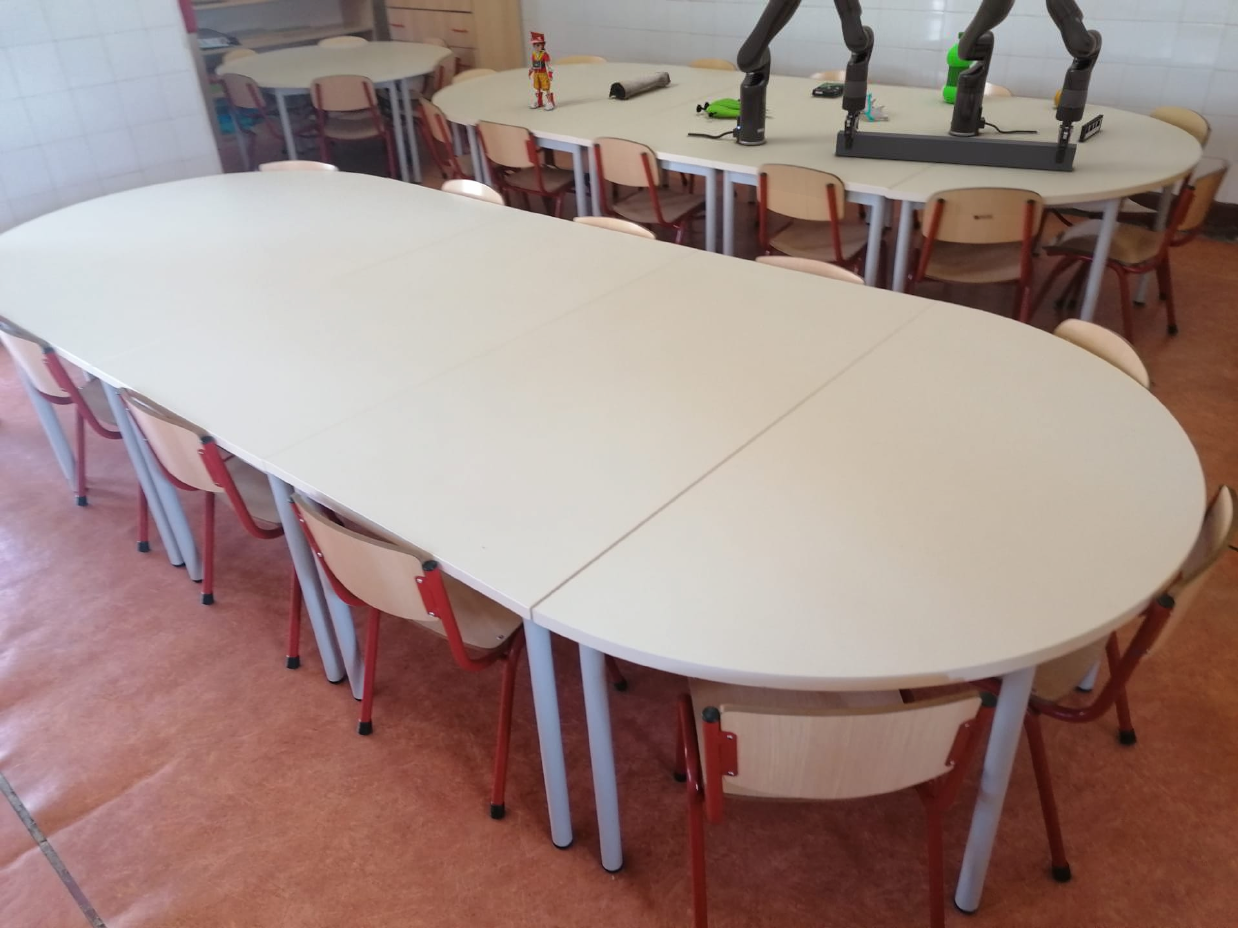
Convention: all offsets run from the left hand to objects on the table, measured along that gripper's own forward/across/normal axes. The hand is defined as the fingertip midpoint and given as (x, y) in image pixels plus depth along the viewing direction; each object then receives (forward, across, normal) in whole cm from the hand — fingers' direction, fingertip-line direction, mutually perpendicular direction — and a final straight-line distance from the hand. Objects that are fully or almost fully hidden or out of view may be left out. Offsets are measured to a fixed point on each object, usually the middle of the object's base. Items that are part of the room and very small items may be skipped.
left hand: (849, 146), depth 303 cm
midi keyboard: (+3, -40, +74) cm, 84 cm away
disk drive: (+3, -85, -25) cm, 88 cm away
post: (+2, 0, +32) cm, 33 cm away
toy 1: (+3, -39, -138) cm, 144 cm away
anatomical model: (+3, -51, -3) cm, 51 cm away
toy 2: (+3, -44, -54) cm, 69 cm away
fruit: (+3, -77, +65) cm, 101 cm away
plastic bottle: (+3, -79, +25) cm, 83 cm away
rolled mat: (+3, -73, -107) cm, 130 cm away
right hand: (0, 0, +65) cm, 65 cm away
